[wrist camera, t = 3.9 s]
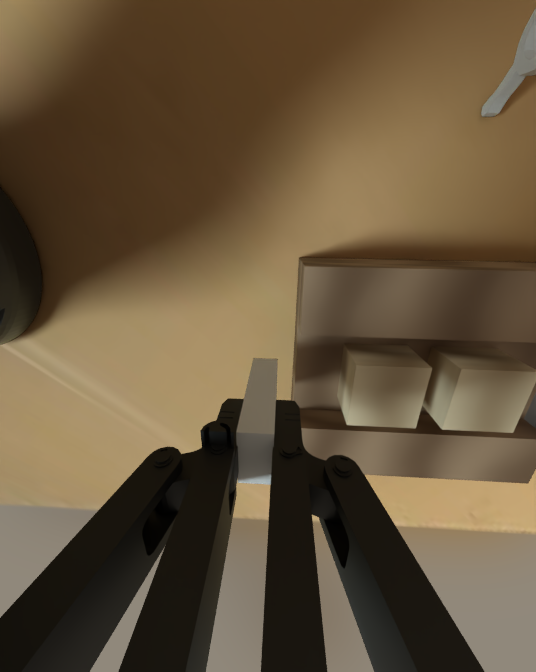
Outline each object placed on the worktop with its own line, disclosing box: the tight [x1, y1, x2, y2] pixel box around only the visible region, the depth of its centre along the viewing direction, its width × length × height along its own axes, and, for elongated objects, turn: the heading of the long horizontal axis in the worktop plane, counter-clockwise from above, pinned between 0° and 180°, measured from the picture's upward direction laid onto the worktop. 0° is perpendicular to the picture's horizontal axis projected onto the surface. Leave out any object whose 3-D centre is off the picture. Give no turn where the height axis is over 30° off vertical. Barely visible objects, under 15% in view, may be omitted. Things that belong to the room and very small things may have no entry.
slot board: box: [291, 258, 536, 483], centre depth 18 cm, size 16×14×5 cm
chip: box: [422, 346, 536, 433], centre depth 16 cm, size 4×4×3 cm
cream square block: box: [337, 343, 432, 428], centre depth 16 cm, size 4×4×3 cm
